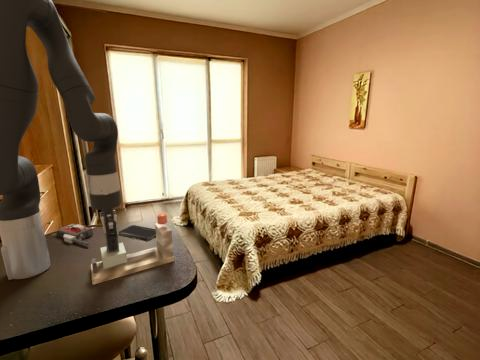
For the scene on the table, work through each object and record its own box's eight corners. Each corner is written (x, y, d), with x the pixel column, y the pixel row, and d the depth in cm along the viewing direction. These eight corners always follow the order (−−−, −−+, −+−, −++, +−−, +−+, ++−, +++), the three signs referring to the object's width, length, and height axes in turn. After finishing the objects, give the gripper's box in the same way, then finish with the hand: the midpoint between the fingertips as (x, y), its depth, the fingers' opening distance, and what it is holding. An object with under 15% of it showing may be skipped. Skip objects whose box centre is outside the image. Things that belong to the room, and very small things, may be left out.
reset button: (159, 225, 77) (158, 217, 77) (156, 222, 80) (156, 214, 79) (168, 223, 79) (167, 215, 78) (165, 220, 81) (165, 213, 81)
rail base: (92, 284, 68) (87, 250, 65) (91, 268, 75) (86, 237, 73) (174, 260, 79) (172, 230, 77) (166, 248, 86) (163, 221, 84)
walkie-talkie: (50, 238, 96) (85, 249, 87) (48, 227, 94) (83, 237, 86) (73, 229, 103) (108, 238, 95) (71, 219, 102) (106, 227, 94)
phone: (148, 239, 92) (117, 232, 97) (148, 241, 92) (117, 235, 98) (162, 230, 99) (132, 224, 105) (162, 233, 99) (133, 227, 105)
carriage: (103, 268, 69) (99, 241, 67) (101, 257, 75) (98, 231, 73) (127, 262, 72) (124, 236, 71) (123, 251, 78) (120, 227, 76)
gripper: (87, 185, 73) (96, 241, 77) (89, 198, 61) (99, 263, 65) (116, 182, 77) (123, 235, 81) (123, 193, 65) (130, 254, 69)
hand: (112, 247), depth 73 cm, fingers closed on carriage, 3 cm apart
